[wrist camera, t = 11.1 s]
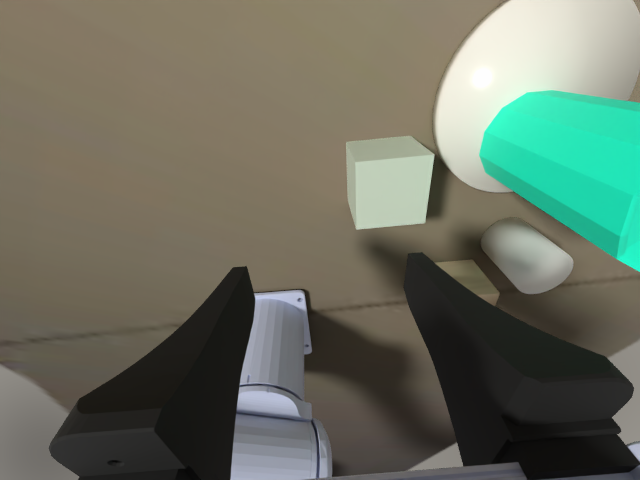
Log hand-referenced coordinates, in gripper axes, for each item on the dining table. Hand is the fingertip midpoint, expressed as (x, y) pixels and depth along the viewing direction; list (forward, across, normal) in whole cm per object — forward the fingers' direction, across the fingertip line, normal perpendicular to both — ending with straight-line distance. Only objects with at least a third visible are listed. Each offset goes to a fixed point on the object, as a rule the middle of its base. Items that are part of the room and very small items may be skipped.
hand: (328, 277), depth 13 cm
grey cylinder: (+10, -16, +6) cm, 20 cm away
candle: (+9, -14, -3) cm, 17 cm away
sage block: (+10, -4, -1) cm, 11 cm away
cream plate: (+10, -14, -5) cm, 18 cm away
